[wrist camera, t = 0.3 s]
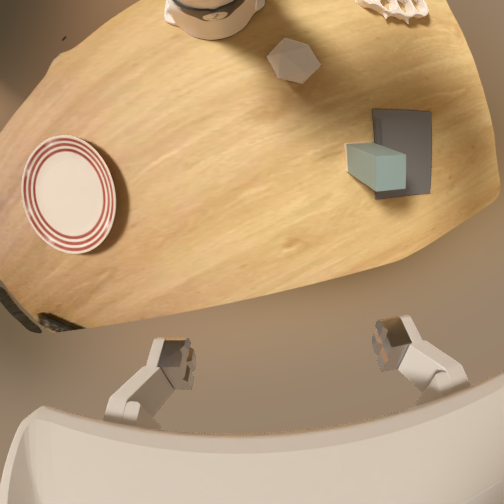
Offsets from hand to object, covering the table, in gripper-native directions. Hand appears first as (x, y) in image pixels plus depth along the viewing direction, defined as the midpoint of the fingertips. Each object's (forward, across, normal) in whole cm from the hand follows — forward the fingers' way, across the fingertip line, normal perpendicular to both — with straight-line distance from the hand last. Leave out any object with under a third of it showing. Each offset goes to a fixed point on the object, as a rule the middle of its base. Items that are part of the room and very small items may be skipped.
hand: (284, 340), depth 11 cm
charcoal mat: (+48, -32, +5) cm, 58 cm away
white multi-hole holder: (+51, -31, -33) cm, 69 cm away
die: (+48, -7, -14) cm, 51 cm away
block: (+47, -20, +5) cm, 52 cm away
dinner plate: (+44, +43, +4) cm, 61 cm away
